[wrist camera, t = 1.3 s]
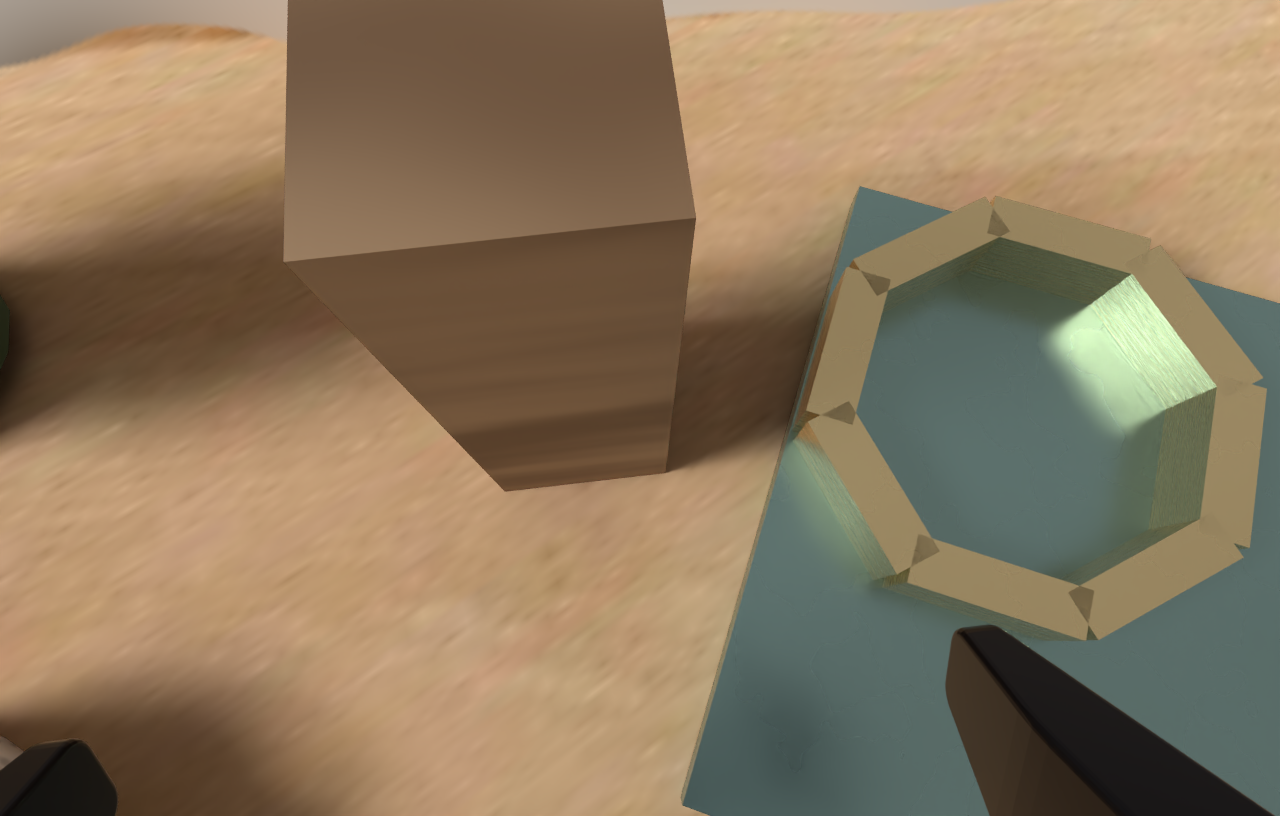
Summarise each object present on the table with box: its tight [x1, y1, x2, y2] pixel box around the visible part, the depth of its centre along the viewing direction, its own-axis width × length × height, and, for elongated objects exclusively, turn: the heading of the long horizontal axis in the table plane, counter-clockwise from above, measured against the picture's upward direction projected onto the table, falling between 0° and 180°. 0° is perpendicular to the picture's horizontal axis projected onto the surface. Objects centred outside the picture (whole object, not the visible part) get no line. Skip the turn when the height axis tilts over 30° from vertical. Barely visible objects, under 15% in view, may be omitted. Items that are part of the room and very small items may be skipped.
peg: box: [283, 0, 696, 491], centre depth 16 cm, size 5×5×14 cm
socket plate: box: [681, 186, 1280, 816], centre depth 20 cm, size 18×15×3 cm
